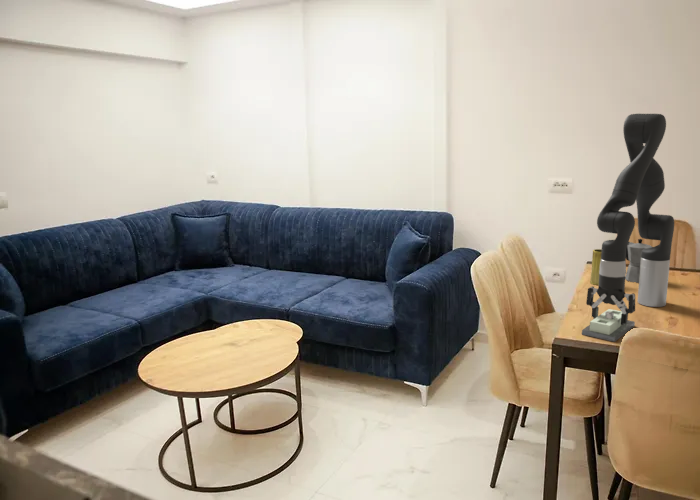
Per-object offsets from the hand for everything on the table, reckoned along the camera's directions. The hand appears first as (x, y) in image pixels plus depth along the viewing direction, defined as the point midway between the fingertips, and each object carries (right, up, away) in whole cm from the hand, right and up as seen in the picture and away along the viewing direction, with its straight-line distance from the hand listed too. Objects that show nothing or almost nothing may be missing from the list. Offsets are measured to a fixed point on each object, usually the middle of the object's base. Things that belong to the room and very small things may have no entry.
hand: (609, 321), depth 172 cm
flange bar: (0, -1, 0) cm, 2 cm away
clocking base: (0, -3, +1) cm, 3 cm away
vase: (+21, +9, +52) cm, 57 cm away
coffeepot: (+38, +10, +55) cm, 68 cm away
